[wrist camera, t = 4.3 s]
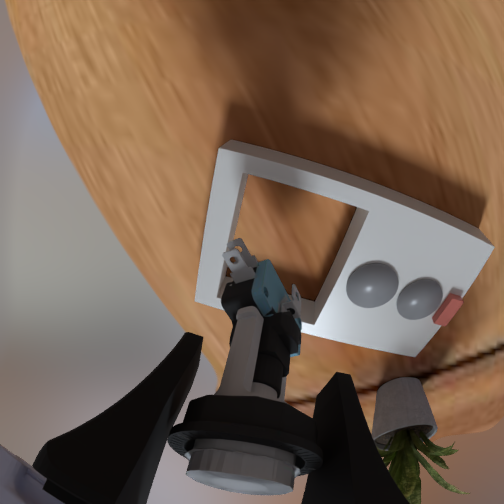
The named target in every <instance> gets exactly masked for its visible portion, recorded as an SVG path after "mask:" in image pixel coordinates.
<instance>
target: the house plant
mask: <svg viewBox="0 0 504 504" xmlns="http://www.w3.org/2000/svg"><path fill="white" fill-rule="evenodd" d="M436 432H437V425H436V422H435V419H434V416H433V414H432V411H431V408H430V405H429V403H428V400H427V397H426V395H425V392H424V390H423V387H422V385H421V382H420V381H419V380H418V379H417V378H412V377H402V378H397V379H394V380H391V381H389V382H387V383H385V384H383V385H382V386H381V387H380V388H379V389H378V391H377V396H376V405H375V413H374V421H373V428H372V438H373V440H374V442H375V445H376V447H377V449H378V452H379V454H380V456H381V457H384V459H383V462H384V464H385V466H386V467H387V466H388V465H389V463H390V462H391V464H390V467H389V470H388V471H389V473H390V475H391V477H392V478H393V480H394V481H395V483H396V484H397V486H398V487H399V489H400V491H401V492H402V494H403V495H404V496H405V498H406V499H407V500H408V502H409V503H410V504H421V480H420V477H419V474H420V467H419V463H418V461H419V462H420V463H421V464H422V465H423V467H424V468H425V469H426V470H427V471H428V473H429V474H430V475H431V476H432V478H433V479H434V480H435V481H436V482H437V483H438V484H440V485H441V486H442V487H444V488H445V489H447V490H450V491H452V492H456V493H460V494H468V493H465V492H461V491H459V490H457V489H455V488H454V487H455V486H452V485H450V484H448V483H447V482H446V481H445V480H444V479H443V478H442V477H441V476H440V475H439V474H438V473H437V472H436V471H435V470H434V469H433V468H432V467H431V466H430V464H429V463H428V462H427V461H426V460H425V459H424V457H422V455H421V454H420V453H419V452H418V451H417V449H418V450H420V451H421V452H423V453H424V454H425V455H426V456H427V457H428V458H430V459H431V460H432V461H433V462H434V463H436V464H437V465H439V466H440V467H442V468H444V469H448V466H447V465H446V463H445V461H444V460H443V459H442V458H440V457H439V456H442V455H443V456H445V455H451V454H454V453H455V452H457V451H458V450H454V449H451V448H452V447H453V445H454V444H453V445H452V446H450V447H447V448H443V447H439V446H437V445H435V444H433V443H432V442H431V441H430V440H429V438H431V437H432V436H433V435H434V434H435V433H436ZM423 442H424V443H425V444H426V445H425V444H424V443H423ZM391 460H392V461H391Z"/></svg>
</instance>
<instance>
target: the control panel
mask: <svg viewBox="0 0 504 504" xmlns="http://www.w3.org/2000/svg"><path fill="white" fill-rule="evenodd" d="M248 174H250V175H254V176H258V177H262V178H265V179H269V180H272V181H276V182H279V183H283V184H286V185H290V186H293V187H296V188H300V189H303V190H306V191H310V192H313V193H316V194H319V195H322V196H325V197H329V198H332V199H335V200H338V201H341V202H344V203H347V204H350V205H353V206H356V207H357V209H356V211H355V214H354V216H353V218H352V221H351V223H350V226H349V228H348V230H347V233H346V235H345V237H344V240H343V242H342V244H341V246H340V249H339V251H338V253H337V255H336V258H335V260H334V262H333V264H332V266H331V269H330V271H329V273H328V275H327V277H326V279H325V282H324V284H323V286H322V288H321V290H320V292H319V294H318V296H317V298H316V300H315V302H314V301H311V300H307V299H303V298H301V312H300V315H301V316H300V318H301V322H302V330H301V332H303V333H307V334H311V335H315V336H319V337H323V338H327V339H331V340H335V341H339V342H344V343H348V344H353V345H357V346H362V347H366V348H371V349H376V350H380V351H385V352H390V353H395V354H400V355H406V356H411V357H416V356H417V355H418V353H419V352H420V351H421V350H422V349H423V348H424V347H425V345H426V344H427V343H428V342H429V341H430V339H431V338H432V337H433V336H434V335H435V333H436V332H437V331H438V330H439V328H440V327H441V326H446V325H447V324H448V323H449V321H450V320H451V319H452V318H453V316H454V315H455V314H456V312H457V311H458V310H459V308H460V307H461V306H462V304H463V303H464V301H463V299H462V298H463V296H464V295H465V294H466V292H467V291H468V289H469V288H470V286H471V285H472V283H473V282H474V280H475V279H476V277H477V276H478V274H479V272H480V271H481V269H482V268H483V266H484V264H485V263H486V261H487V259H488V258H489V256H490V254H491V253H492V251H493V249H494V246H493V244H492V243H491V242H490V241H489V240H488V238H487V237H486V236H485V235H484V234H483V233H482V232H481V230H480V229H478V228H477V227H475V226H473V225H471V224H469V223H467V222H465V221H463V220H461V219H458V218H456V217H454V216H452V215H450V214H448V213H446V212H444V211H441V210H439V209H437V208H435V207H433V206H430V205H428V204H426V203H424V202H421V201H419V200H417V199H414V198H412V197H409V196H407V195H405V194H402V193H400V192H397V191H395V190H392V189H390V188H387V187H385V186H382V185H379V184H377V183H374V182H371V181H369V180H366V179H363V178H361V177H358V176H355V175H352V174H349V173H346V172H343V171H341V170H338V169H335V168H332V167H329V166H325V165H322V164H319V163H316V162H313V161H310V160H306V159H303V158H300V157H296V156H293V155H289V154H286V153H282V152H279V151H275V150H271V149H268V148H264V147H260V146H256V145H252V144H248V143H244V142H240V141H236V140H232V139H231V140H229V141H228V142H226V143H225V144H224V145H222V146H221V147H219V150H218V155H217V160H216V166H215V171H214V177H213V182H212V188H211V194H210V200H209V206H208V212H207V218H206V224H205V231H204V237H203V244H202V251H201V258H200V265H199V272H198V279H197V287H196V295H195V301H196V302H199V303H202V304H205V305H208V306H211V307H215V308H218V309H221V310H224V309H223V307H222V305H221V298H222V295H223V292H224V289H225V286H226V284H227V283H229V282H233V278H230V277H227V276H226V272H227V268H228V265H227V263H226V261H225V260H224V258H223V256H222V254H223V253H224V252H226V251H229V248H228V247H227V243H228V242H230V241H232V240H234V235H235V231H236V226H237V222H238V217H239V213H240V209H241V204H242V200H243V195H244V191H245V187H246V182H247V178H248ZM288 296H289V298H290V300H292V297H291V296H292V295H289V294H288ZM296 298H297V297H296ZM297 300H298V298H297ZM224 311H225V310H224Z"/></svg>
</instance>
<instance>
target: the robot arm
mask: <svg viewBox="0 0 504 504" xmlns="http://www.w3.org/2000/svg"><path fill="white" fill-rule="evenodd" d="M202 342H203V337H202V336H199V335H196V334H193V333H190V332H186V333H185V334H184V335H183V337H182V338H181V340H180V341H179V342H178V343H177V345H176V346H175V347H174V349H173V350H172V351H171V352H170V353H169V354H168V355H167V356H166V358H165V359H164V360H163V361H162V362H161V363H160V364H159V365H158V366H157V367H156V368H155V369H154V370H153V371H152V372H151V373H150V374H149V375H148V376H147V377H146V378H145V379H144V380H143V381H142V382H141V383H139V384H138V385H137V386H136V387H135V388H134V389H133V390H132V391H130V392H129V393H128V394H127V395H125V397H123V398H122V399H121V400H119V401H118V402H117V403H115V404H114V405H112V406H111V407H109V408H108V409H106V410H105V411H104V412H102V413H101V414H99V415H98V416H96V417H94V418H93V419H91V420H89V421H87V422H86V423H84V424H82V425H81V426H79V427H77V428H75V429H73V430H71V431H69V432H67V433H65V434H62V435H60V436H58V437H56V438H53V439H52V440H49V441H48V442H47V443H46V444H45V445H44V446H43V447H42V449H41V450H40V451H39V454H38V455H37V457H36V459H35V462H34V463H33V465H32V466H33V467H32V466H31V465H29V464H28V463H27V462H25V461H24V460H23V459H21V458H20V457H18V456H16V455H14V454H13V453H11V452H10V451H8V450H7V449H6V448H5V447H3V446H2V445H0V504H146V503H147V499H148V496H149V493H150V489H151V486H152V483H153V480H154V477H155V474H156V471H157V468H158V464H159V462H160V458H161V456H162V453H163V450H164V447H165V444H166V441H167V438H168V436H169V433H170V430H171V428H172V427H173V425H174V423H175V421H176V419H177V417H178V414H179V412H180V410H181V408H182V406H183V404H184V402H185V400H186V398H187V395H188V393H189V391H190V389H191V387H192V384H193V381H194V378H195V375H196V372H197V369H198V367H199V361H200V355H201V349H202ZM313 419H314V420H315V421H316V425H317V430H318V435H317V445H318V446H319V447H320V448H321V449H322V451H323V464H322V466H321V467H320V468H319V469H317V470H316V471H314V472H311V473H309V474H308V478H307V483H306V488H305V492H304V495H303V499H302V503H301V504H410V503H409V502H408V500H407V499H406V498H405V496H404V495H403V494H402V492H401V491H400V489H399V487H398V486H397V484H396V483H395V481H394V480H393V478H392V477H391V475H390V473H389V471H388V469H387V468H386V466H385V464H384V462H383V460H382V458H381V456H380V454H379V452H378V449H377V447H376V445H375V442H374V440H373V438H372V435H371V433H370V430H369V427H368V425H367V422H366V419H365V416H364V414H363V411H362V408H361V405H360V402H359V399H358V396H357V393H356V390H355V387H354V383H353V380H352V377H351V375H350V374H345V373H339V372H336V373H335V374H334V376H333V377H332V378H331V379H330V381H329V382H328V383H327V384H326V386H325V387H324V388H323V389H322V390H321V392H320V393H319V394H318V395H317V398H316V403H315V409H314V415H313Z"/></svg>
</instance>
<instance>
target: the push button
mask: <svg viewBox="0 0 504 504" xmlns="http://www.w3.org/2000/svg"><path fill="white" fill-rule="evenodd" d="M235 246H240V247H241V248H242V252H239V250H238V249H236V248H235V249H234V247H235ZM227 247H228V248H229V251H226V252H224V253H223V254H222V256H223V258H224V260H225V261H226V263H227V265H228V266H229V268H230V270H231V271H232V273H230V275H231V277H232V278H233V282H229V283H227V284H226V286H225V289H224V292H223V295H222V298H221V305H222V307H223V309H224V310H225V312H226V313H227V315H228V316H229V317H230V319H231V320H232V324H233V329H232V332H231V336H230V343H229V344H230V351H229V354H228V358H227V362H226V366H225V370H224V373H223V377H222V381H221V385H220V387H219V389H218V391H217V392H216V393H215V394H214V395H206V396H203V397H200V398H197V399H194V400H191V401H190V402H189V405H188V408H187V412H186V414H185V417H184V420H183V423H180V424H177V425H175V426H174V427H172V428H171V430H170V433H169V436H168V439H167V440H168V443H169V445H170V447H172V449H173V450H175V451H176V452H177V453H178V454H180V455H181V456H183V457H185V458H187V459H188V460H189V465H188V468H187V472H186V475H187V476H189V477H190V478H192V479H193V480H195V481H197V482H200V483H203V484H205V485H208V486H211V487H214V488H218V489H222V490H226V491H230V492H236V493H243V494H251V495H281V494H286V493H289V492H292V491H293V487H294V478H295V477H297V476H300V475H305V474H309V473H311V472H314V471H316V470H317V469H319V468H320V467H321V466H322V464H323V451H322V449H321V448H320V447H319V446H318V445H317V435H318V430H317V425H316V421H315V420H314V419H313V418H311V417H309V416H307V415H306V414H304V413H302V412H300V411H299V410H297V409H295V408H294V407H292V406H290V405H289V404H287V403H286V402H284V396H285V387H286V376H287V375H288V374H289V365H290V357H293V356H297V355H300V345H301V330H302V322H301V318H300V316H301V315H300V312H301V296H300V294H299V292H298V289H297V287H296V285H295V284H292V296H291V297H292V300H290V298H289V296H288V294H287V292H286V290H285V288H284V286H283V284H282V282H281V281H280V279H279V277H278V275H277V273H276V271H275V269H274V267H273V265H272V263H271V261H270V260H269V259H267V260H264V261H261V262H258V261H257V259H256V257H255V256H251V255H250V253H249V251H248V249H247V247H246V246H245V244H244V242H243V240H242V239H241V238H238V239H235V240H232V241H230V242H228V243H227ZM231 257H234V259H235V260H236V262H234V263H232V262H231V261H230V258H231ZM296 295H297V298H298V300H297V298H296Z"/></svg>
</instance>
